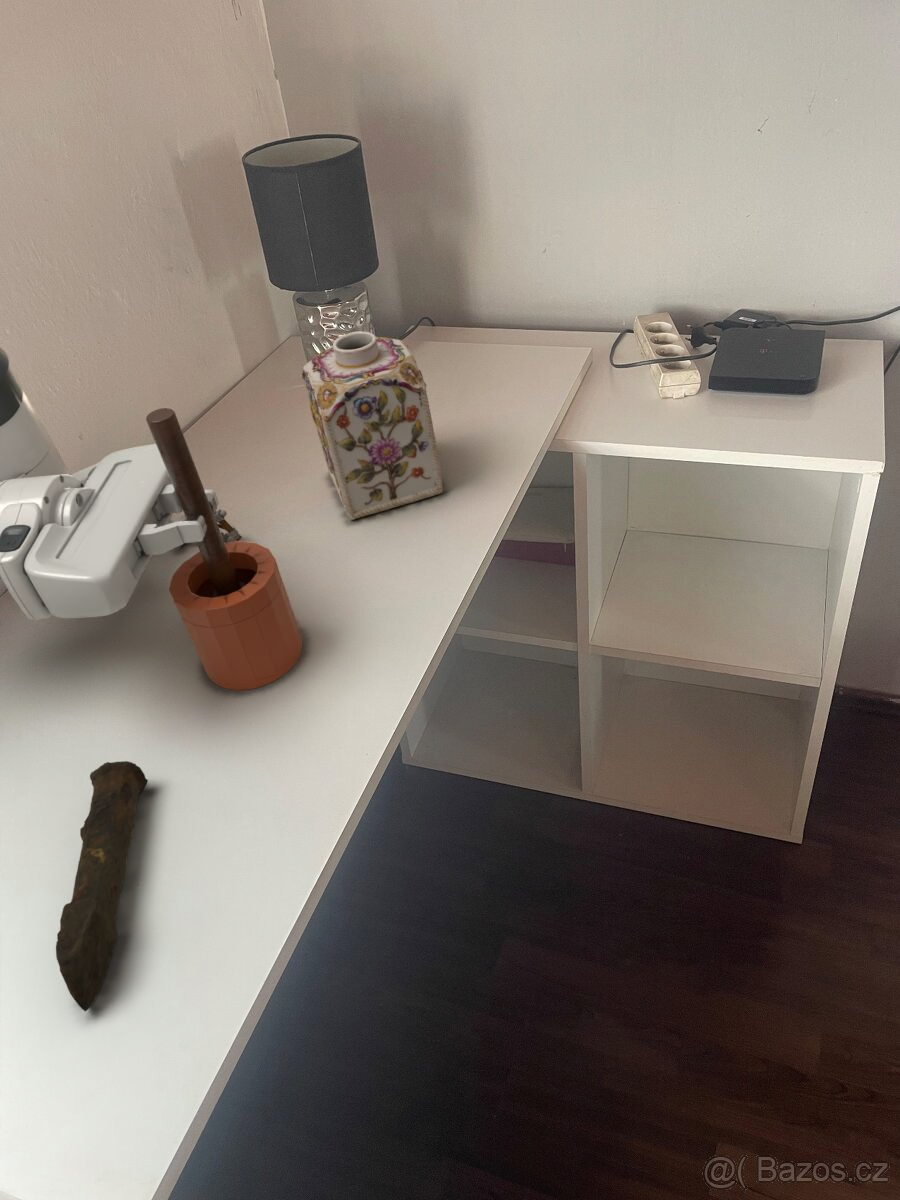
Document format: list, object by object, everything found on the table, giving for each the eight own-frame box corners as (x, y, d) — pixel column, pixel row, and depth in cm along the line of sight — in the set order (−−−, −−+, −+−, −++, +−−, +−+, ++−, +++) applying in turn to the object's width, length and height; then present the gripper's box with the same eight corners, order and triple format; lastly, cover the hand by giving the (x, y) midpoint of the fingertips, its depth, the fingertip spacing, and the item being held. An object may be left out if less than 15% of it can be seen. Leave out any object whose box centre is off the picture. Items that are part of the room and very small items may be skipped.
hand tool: (106, 792, 72) (82, 757, 69) (152, 784, 72) (131, 748, 69) (49, 1021, 58) (17, 990, 55) (108, 1011, 58) (79, 980, 55)
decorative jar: (418, 447, 108) (392, 307, 96) (447, 494, 99) (422, 346, 87) (326, 474, 106) (288, 334, 94) (346, 524, 97) (308, 377, 86)
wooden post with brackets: (244, 541, 96) (217, 511, 93) (192, 566, 99) (165, 537, 97) (249, 531, 97) (223, 501, 95) (198, 556, 100) (171, 528, 98)
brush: (218, 628, 80) (131, 419, 66) (245, 609, 82) (164, 400, 68) (240, 641, 79) (154, 429, 64) (266, 621, 80) (189, 409, 66)
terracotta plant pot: (186, 664, 83) (148, 585, 77) (259, 608, 88) (230, 530, 81) (247, 705, 78) (213, 624, 71) (322, 643, 83) (296, 562, 76)
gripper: (111, 489, 84) (248, 477, 82) (21, 635, 68) (187, 624, 67) (85, 432, 80) (228, 418, 78) (-17, 573, 64) (159, 560, 63)
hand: (209, 514), depth 72 cm, fingers closed on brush, 2 cm apart
